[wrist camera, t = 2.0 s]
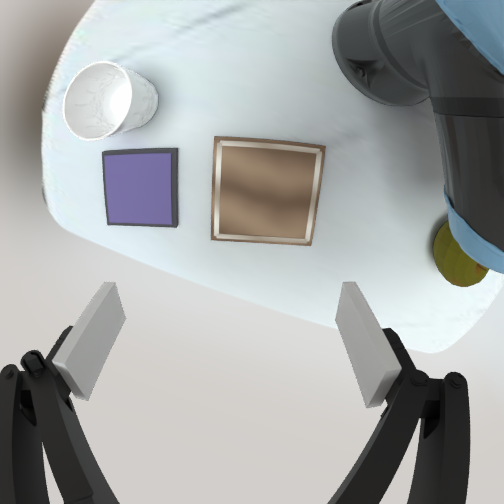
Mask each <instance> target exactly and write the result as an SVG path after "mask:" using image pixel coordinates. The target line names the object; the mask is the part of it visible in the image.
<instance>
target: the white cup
mask: <svg viewBox="0 0 504 504" xmlns="http://www.w3.org/2000/svg"><path fill="white" fill-rule="evenodd" d="M157 105H158V94H157V92H156V89H155V86H154V85H153V84H151V83H150V82H149V81H148V80H146V79H145V78H143V77H142V76H140V75H138V74H137V73H135V72H133V71H131V70H129V69H127V68H125V67H122V66H120V65H118V64H116V63H114V62H110V61H98V62H94V63H92V64H89V65H87V66H86V67H84V68H83V69H81V70H80V71H79V72H78V73H77V74H76V75H75V76H74V78H73V79H72V80H71V82H70V83H69V85H68V87H67V90H66V92H65V95H64V99H63V117H64V120H65V123H66V125H67V127H68V129H69V130H70V131H71V133H72V134H73V135H75V136H76V137H78V138H80V139H82V140H86V141H97V140H100V139H104V138H107V137H110V136H114V135H118V134H121V133H124V132H127V131H130V130H132V129H134V128H138V127H142V126H143V125H144V124H145V123H147V122H148V121H149V120H150V119H151V118H152V117H153V115H154V113H155V111H156V109H157Z"/></svg>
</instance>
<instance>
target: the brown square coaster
mask: <svg viewBox="0 0 504 504" xmlns="http://www.w3.org/2000/svg"><path fill="white" fill-rule="evenodd" d="M325 147H326V146H322V145H315V144H307V143H299V142H290V141H280V140H269V139H256V138H240V137H217V136H215V137H214V150H213V174H212V207H211V240H217V241H235V242H253V243H270V244H287V245H303V246H311V244H312V238H313V232H314V226H315V220H316V213H317V207H318V200H319V193H320V186H321V179H322V171H323V163H324V155H325Z"/></svg>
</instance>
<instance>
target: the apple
mask: <svg viewBox="0 0 504 504" xmlns="http://www.w3.org/2000/svg"><path fill="white" fill-rule="evenodd" d="M433 254H434V258H435V263H436V265H437V268H438V270H439V271H440V273H441V274H442V275H443V276H444V278H445V279H446V280H447V281H449V282H450V283H451V284H453V285H456V286H460V287H468V286H471V285H474V284H476V283H479V282H480V281H481V280H482V279H483V278H484V277H485V276H486V274H487V272H488V270H489V268H487V267H485V266H483V265H481V264H479V263H478V262H476V261H475V260H473V259H472V258H471V257H470V256H468V255H467V254H466V253H465V252H464V251H463V250H462V249H461V247H460V245H459V243H458V242H457V241H456V240H455V239H454V237H453V235H452V233H451V230H450V226H449V221H447V222H445V224H444V225H443V226H442V227H441V228H440V229H439V231H438V233H437V235H436V238H435V241H434V244H433Z"/></svg>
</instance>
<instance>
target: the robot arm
mask: <svg viewBox="0 0 504 504" xmlns="http://www.w3.org/2000/svg"><path fill="white" fill-rule="evenodd" d="M332 44H333V50H334V54H335V57H336V60H337V62H338V64H339V66H340V68H341V70H342V71H343V73H344V75H345V76H346V77H347V79H348V80H349V81H350V82H351V83H352V84H353V85H354V86H355V87H356V88H357V89H358V90H359V91H360V92H362V93H363V94H364V95H366V96H368V97H369V98H371V99H373V100H375V101H377V102H380V103H383V104H386V105H392V106H409V105H415V104H418V103H421V102H423V101H424V100H426V99H427V98H429V97H430V98H431V102H432V106H433V111H434V116H435V121H436V126H437V131H438V136H439V142H440V148H441V154H442V161H443V169H444V178H445V185H444V196H445V200H446V203H447V209H448V220H449V226H450V230H451V233H452V235H453V237H454V239H455V240H456V241H457V242H458V243H459V245H460V247H461V249H462V250H463V251H464V252H465V253H466V254H467V255H468V256H470V257H471V258H472V259H473V260H475V261H476V262H478V263H479V264H481V265H483V266H485V267H487V268H489V269H491V270H493V271H496V272H499V273H502V274H504V0H362V1H359V2H357V3H355V4H353V5H351V6H350V7H349V8H347V9H346V10H345V11H344V12H343V13H342V14H341V15H340V17H339V18H338V19H337V21H336V23H335V26H334V29H333V34H332ZM125 319H126V317H125V314H124V311H123V308H122V304H121V301H120V298H119V294H118V291H117V287H116V283H115V282H104V283H103V285H102V286H101V287H100V289H99V290H98V292H97V293H96V294H95V296H94V297H93V299H92V300H91V301H90V303H89V305H88V306H87V307H86V309H85V310H84V311H83V313H82V314H81V316H80V317H79V319H78V321H77V322H76V324H75V325H74V326H69V327H68V328H67V329H65V330H64V331H63V332H62V334H61V335H60V337H59V339H58V340H57V341H56V344H55V345H54V346H53V348H52V349H51V351H50V353H49V354H48V356H47V357H46V359H44V358H43V356H42V354H41V352H39V351H37V350H31V351H29V352H27V353H26V354H25V355H24V356H23V357H22V359H21V365H22V367H23V368H24V370H25V371H19V369H18V368H17V366H16V365H14V364H9V365H7V366H5V367H4V368H3V369H2V371H1V373H0V504H50V502H49V497H48V491H47V485H46V478H45V471H44V460H43V448H42V442H43V446H44V449H45V452H46V455H47V458H48V461H49V464H50V467H51V470H52V473H53V476H54V478H55V481H56V483H57V486H58V488H59V490H60V493H61V495H62V498H63V500H64V504H120V503H119V502H118V501H117V498H116V497H115V495H114V493H113V492H112V490H111V488H110V487H109V485H108V483H107V481H106V479H105V477H104V475H103V474H102V472H101V470H100V468H99V466H98V464H97V462H96V460H95V457H94V455H93V453H92V451H91V449H90V447H89V444H88V442H87V440H86V437H85V435H84V433H83V430H82V428H81V425H80V423H79V420H78V417H77V415H76V412H75V409H74V406H73V403H72V400H71V399H70V397H69V395H70V392H71V391H72V393H73V394H74V395H75V397H76V398H79V399H82V400H86V401H88V400H89V398H90V395H91V393H92V390H93V388H94V385H95V383H96V381H97V379H98V377H99V374H100V372H101V370H102V368H103V365H104V363H105V361H106V359H107V357H108V355H109V352H110V350H111V348H112V346H113V344H114V342H115V340H116V338H117V336H118V334H119V332H120V330H121V328H122V326H123V324H124V321H125ZM335 321H336V323H337V326H338V329H339V331H340V334H341V337H342V339H343V342H344V344H345V347H346V350H347V353H348V355H349V358H350V361H351V364H352V367H353V370H354V373H355V375H356V378H357V381H358V384H359V387H360V390H361V393H362V396H363V399H364V402H365V405H366V408H371V407H376V406H381V405H382V403H383V401H384V399H386V402H387V404H388V405H387V407H386V408H385V410H384V412H383V413H382V415H381V419H380V421H379V423H378V424H377V426H376V428H375V430H374V432H373V434H372V436H371V437H370V439H369V441H368V443H367V444H366V446H365V448H364V450H363V451H362V453H361V455H360V456H359V458H358V460H357V461H356V463H355V464H354V466H353V468H352V469H351V471H350V472H349V474H348V475H347V477H346V478H345V480H344V481H343V483H342V484H341V486H340V487H339V488H338V490H337V491H336V493H335V494H334V495H333V497H332V498H331V499H330V501H329V502H328V504H379V502H380V501H381V499H382V498H383V495H384V494H385V492H386V490H387V489H388V486H389V485H390V483H391V481H392V479H393V477H394V475H395V473H396V471H397V469H398V467H399V465H400V463H401V461H402V459H403V457H404V455H405V452H406V450H407V448H408V445H409V443H410V441H411V438H412V436H413V433H414V431H415V428H416V425H417V423H418V420H419V418H421V425H420V435H419V443H418V451H417V457H416V463H415V470H414V475H413V480H412V485H411V489H410V494H409V498H408V502H407V504H465V503H466V496H467V488H468V478H469V465H470V410H469V397H468V385H467V381H466V379H465V378H464V376H463V375H461V374H460V373H457V372H450V373H448V374H447V375H446V376H445V378H444V379H433V378H429V376H428V375H427V374H426V373H424V372H423V371H420V370H417V369H416V367H415V365H414V363H413V362H412V360H411V358H410V356H409V354H408V352H407V350H406V349H405V347H404V345H403V343H401V340H400V338H399V336H398V334H397V333H396V332H394V331H393V330H392V329H391V328H386V329H381V327H380V325H379V323H378V321H377V319H376V317H375V316H374V314H373V312H372V310H371V308H370V307H369V305H368V303H367V301H366V299H365V298H364V296H363V294H362V292H361V291H360V289H359V287H358V285H357V284H356V282H343V285H342V290H341V295H340V300H339V305H338V309H337V314H336V319H335Z"/></svg>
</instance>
